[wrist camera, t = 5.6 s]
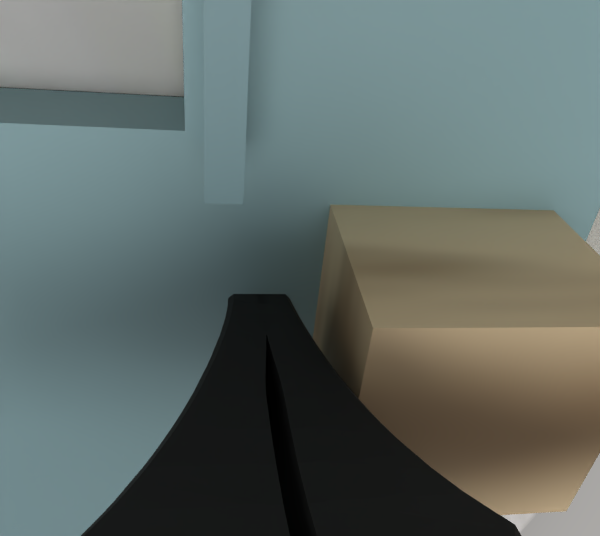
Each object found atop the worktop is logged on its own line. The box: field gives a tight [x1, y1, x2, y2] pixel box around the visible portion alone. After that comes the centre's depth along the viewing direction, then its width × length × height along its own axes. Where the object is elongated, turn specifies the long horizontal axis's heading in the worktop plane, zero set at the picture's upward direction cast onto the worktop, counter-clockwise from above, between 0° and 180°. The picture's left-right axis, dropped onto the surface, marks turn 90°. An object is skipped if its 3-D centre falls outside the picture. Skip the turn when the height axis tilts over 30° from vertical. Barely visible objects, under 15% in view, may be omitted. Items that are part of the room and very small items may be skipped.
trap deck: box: [0, 0, 600, 536], centre depth 13 cm, size 20×16×5 cm
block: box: [313, 205, 600, 515], centre depth 12 cm, size 5×5×4 cm
